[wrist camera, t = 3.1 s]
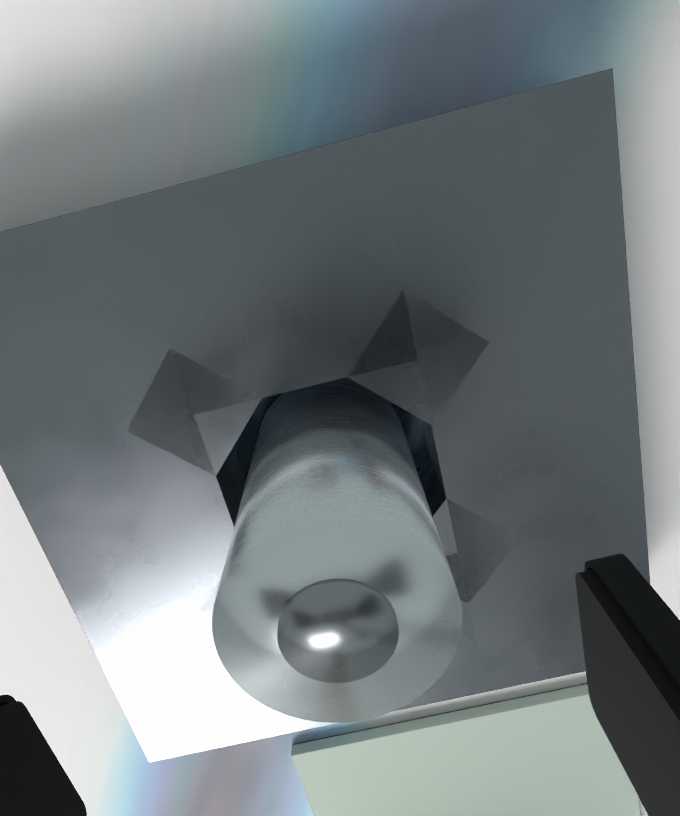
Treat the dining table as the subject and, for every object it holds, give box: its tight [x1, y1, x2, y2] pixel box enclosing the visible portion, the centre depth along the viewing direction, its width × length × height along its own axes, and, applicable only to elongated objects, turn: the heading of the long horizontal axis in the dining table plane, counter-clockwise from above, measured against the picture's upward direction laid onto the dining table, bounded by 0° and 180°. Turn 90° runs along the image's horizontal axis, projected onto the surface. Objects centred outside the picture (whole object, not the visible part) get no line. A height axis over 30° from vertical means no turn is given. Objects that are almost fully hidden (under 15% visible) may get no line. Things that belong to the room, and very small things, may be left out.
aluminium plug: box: [212, 377, 462, 723], centre depth 16 cm, size 5×5×9 cm
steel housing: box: [0, 68, 650, 762], centre depth 19 cm, size 18×18×3 cm
